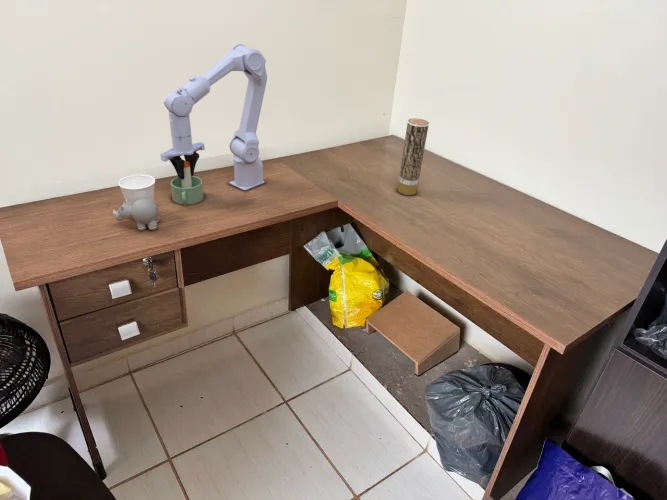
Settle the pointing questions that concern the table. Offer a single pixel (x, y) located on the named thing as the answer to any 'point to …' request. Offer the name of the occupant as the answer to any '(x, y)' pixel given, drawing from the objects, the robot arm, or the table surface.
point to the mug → (187, 191)
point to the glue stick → (187, 176)
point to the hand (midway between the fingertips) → (185, 176)
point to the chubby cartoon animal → (139, 213)
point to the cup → (137, 187)
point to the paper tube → (412, 156)
